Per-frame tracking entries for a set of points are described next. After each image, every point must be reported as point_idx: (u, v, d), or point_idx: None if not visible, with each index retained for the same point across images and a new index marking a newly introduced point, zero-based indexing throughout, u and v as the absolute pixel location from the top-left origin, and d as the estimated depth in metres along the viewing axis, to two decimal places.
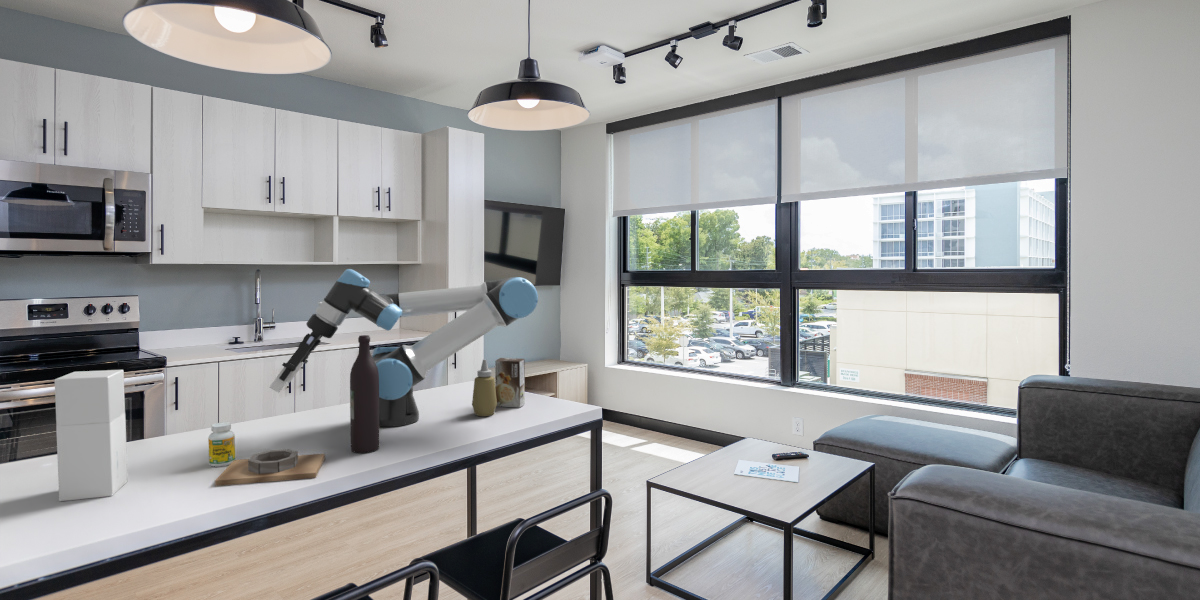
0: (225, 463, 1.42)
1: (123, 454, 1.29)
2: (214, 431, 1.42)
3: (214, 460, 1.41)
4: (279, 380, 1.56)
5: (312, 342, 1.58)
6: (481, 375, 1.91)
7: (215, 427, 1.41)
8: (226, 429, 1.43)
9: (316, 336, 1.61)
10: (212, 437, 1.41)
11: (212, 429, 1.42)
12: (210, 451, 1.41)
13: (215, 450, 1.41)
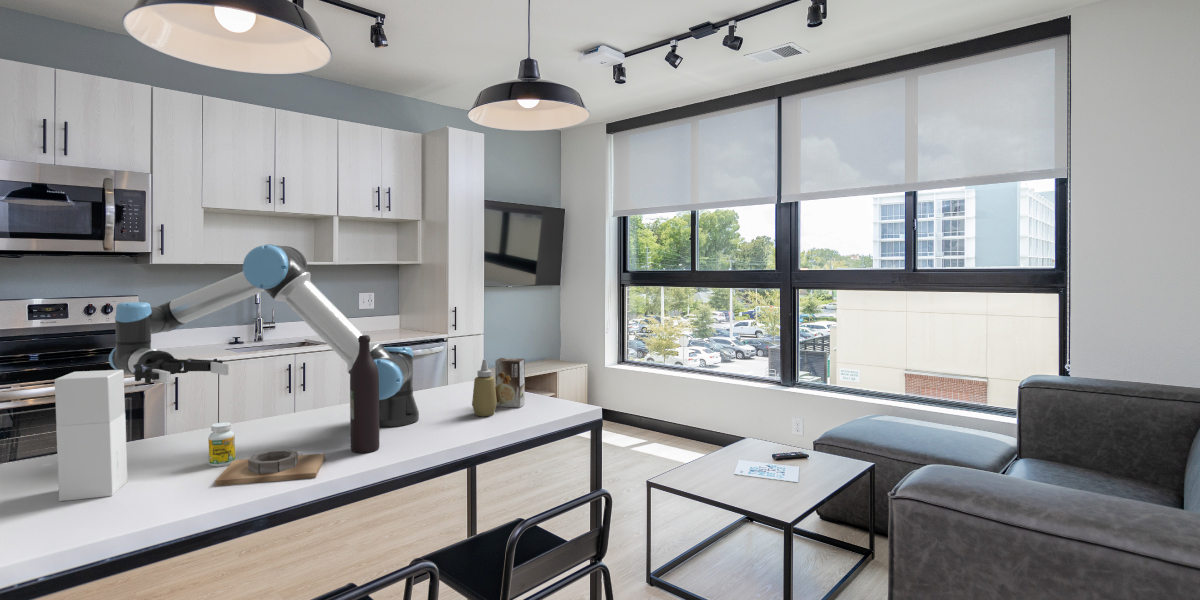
0: (225, 463, 1.42)
1: (123, 454, 1.29)
2: (214, 431, 1.42)
3: (214, 460, 1.41)
4: (160, 377, 1.42)
5: (134, 367, 1.48)
6: (481, 375, 1.91)
7: (215, 427, 1.41)
8: (226, 429, 1.43)
9: (145, 365, 1.52)
10: (212, 437, 1.41)
11: (212, 429, 1.42)
12: (210, 451, 1.41)
13: (215, 450, 1.41)
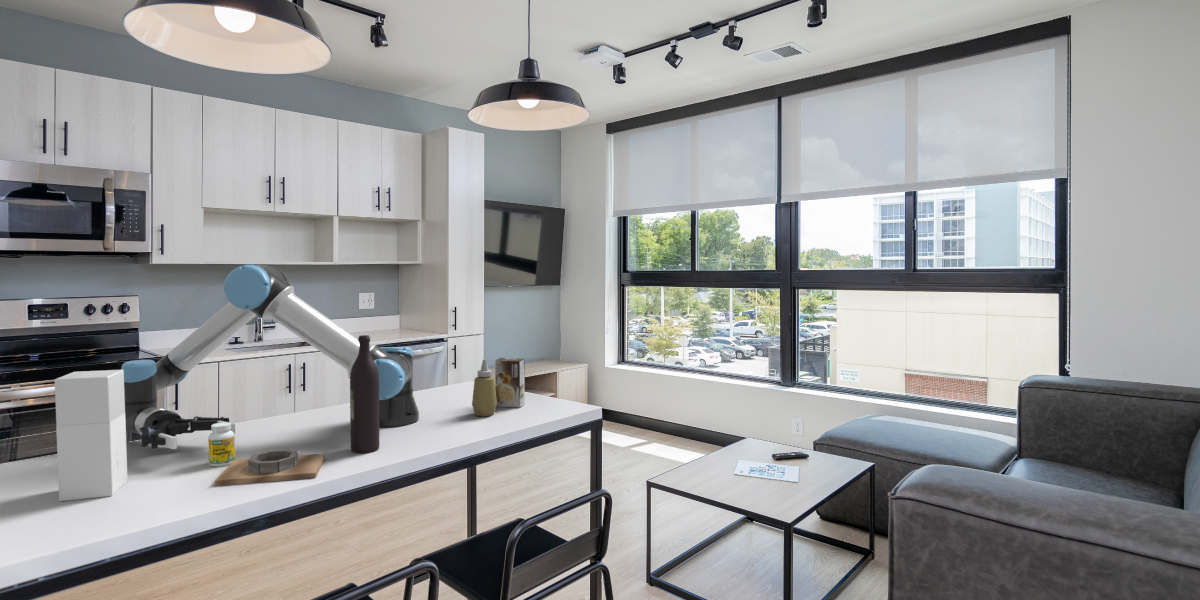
0: (225, 463, 1.42)
1: (123, 454, 1.29)
2: (214, 431, 1.42)
3: (214, 460, 1.41)
4: (166, 443, 1.41)
5: (141, 430, 1.47)
6: (481, 375, 1.91)
7: (215, 427, 1.41)
8: (226, 429, 1.43)
9: (152, 427, 1.51)
10: (212, 437, 1.41)
11: (212, 429, 1.42)
12: (210, 451, 1.41)
13: (215, 450, 1.41)
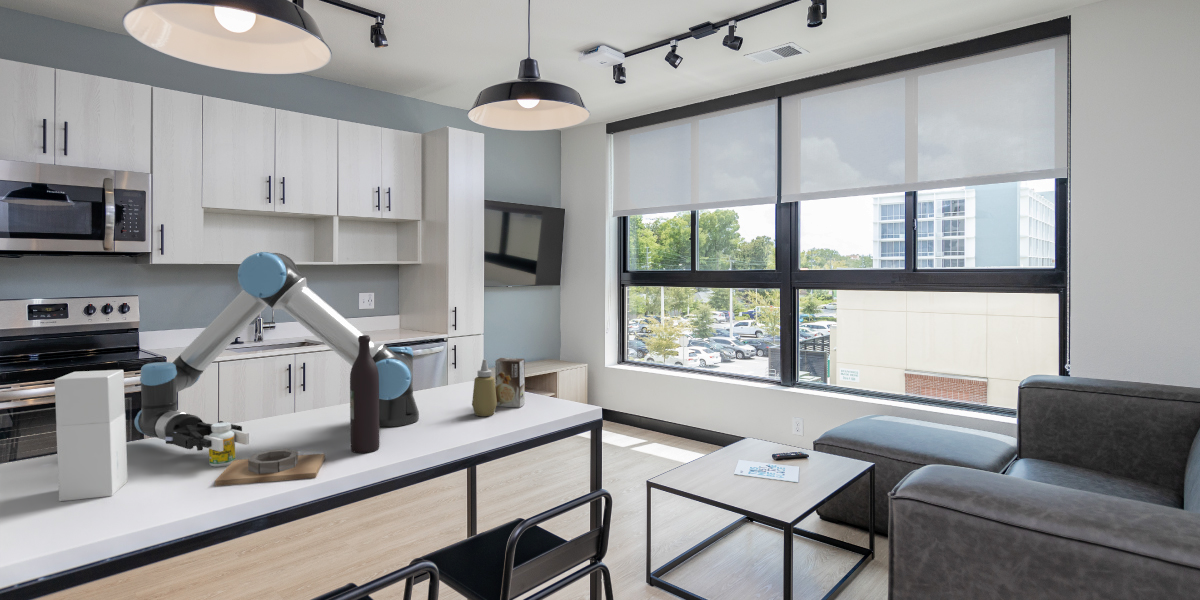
0: (225, 463, 1.42)
1: (123, 454, 1.29)
2: (214, 431, 1.42)
3: (214, 460, 1.41)
4: (212, 445, 1.40)
5: (168, 435, 1.43)
6: (481, 375, 1.91)
7: (215, 427, 1.41)
8: (226, 429, 1.43)
9: (173, 432, 1.46)
10: (212, 436, 1.41)
11: (212, 429, 1.42)
12: (210, 451, 1.41)
13: (215, 450, 1.41)
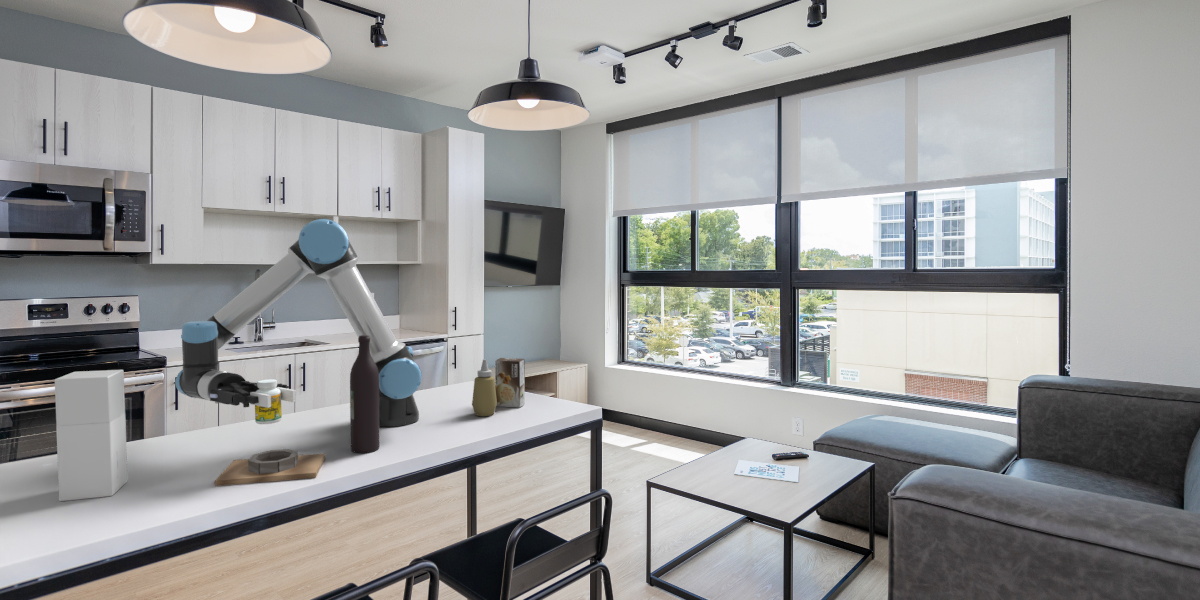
0: (272, 421, 1.37)
1: (123, 454, 1.29)
2: (260, 387, 1.36)
3: (260, 417, 1.36)
4: (260, 401, 1.34)
5: (213, 392, 1.38)
6: (481, 375, 1.91)
7: (262, 383, 1.36)
8: (273, 386, 1.37)
9: (217, 390, 1.41)
10: None
11: (258, 386, 1.36)
12: (256, 408, 1.36)
13: (262, 407, 1.36)
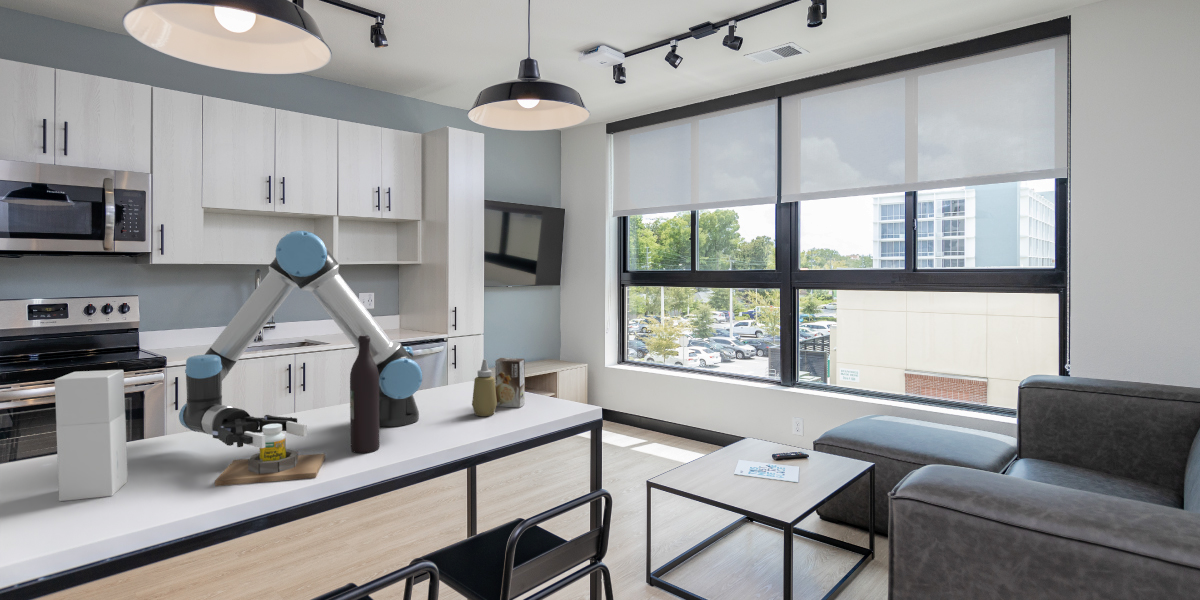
0: None
1: (123, 454, 1.29)
2: (265, 433, 1.37)
3: None
4: (254, 441, 1.33)
5: (214, 429, 1.38)
6: (481, 375, 1.91)
7: (267, 429, 1.36)
8: (278, 431, 1.38)
9: (222, 426, 1.41)
10: None
11: (263, 431, 1.37)
12: (261, 453, 1.37)
13: (267, 453, 1.36)
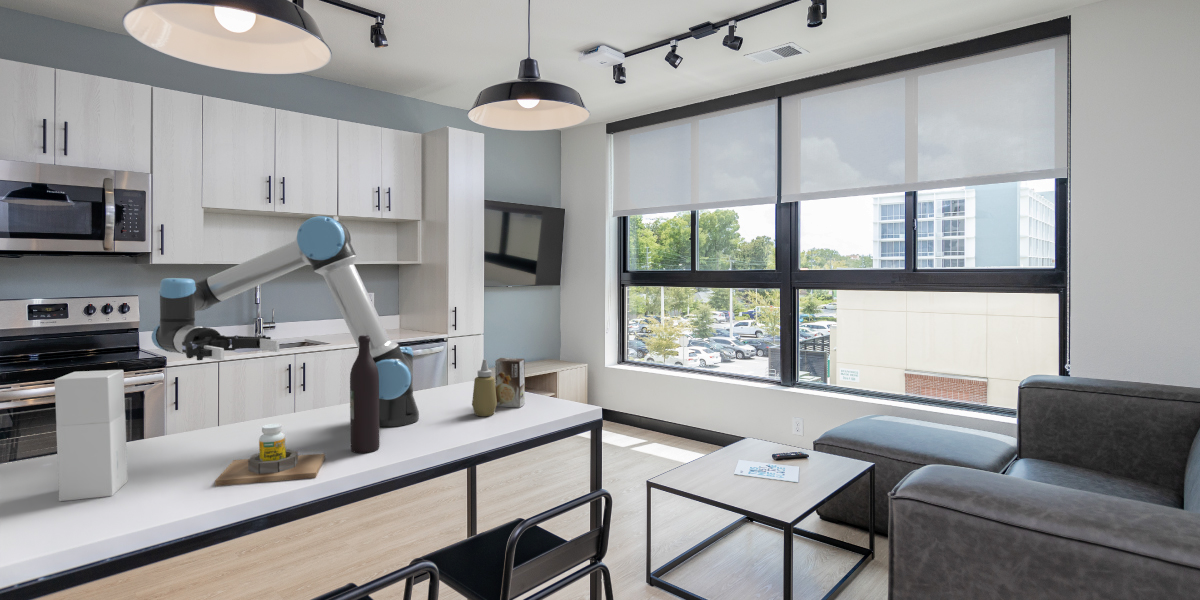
0: None
1: (123, 454, 1.29)
2: (265, 433, 1.37)
3: None
4: (213, 354, 1.37)
5: (183, 344, 1.43)
6: (481, 375, 1.91)
7: (266, 428, 1.37)
8: (277, 430, 1.38)
9: (193, 343, 1.46)
10: (263, 438, 1.36)
11: (263, 431, 1.37)
12: (261, 453, 1.37)
13: (267, 453, 1.36)
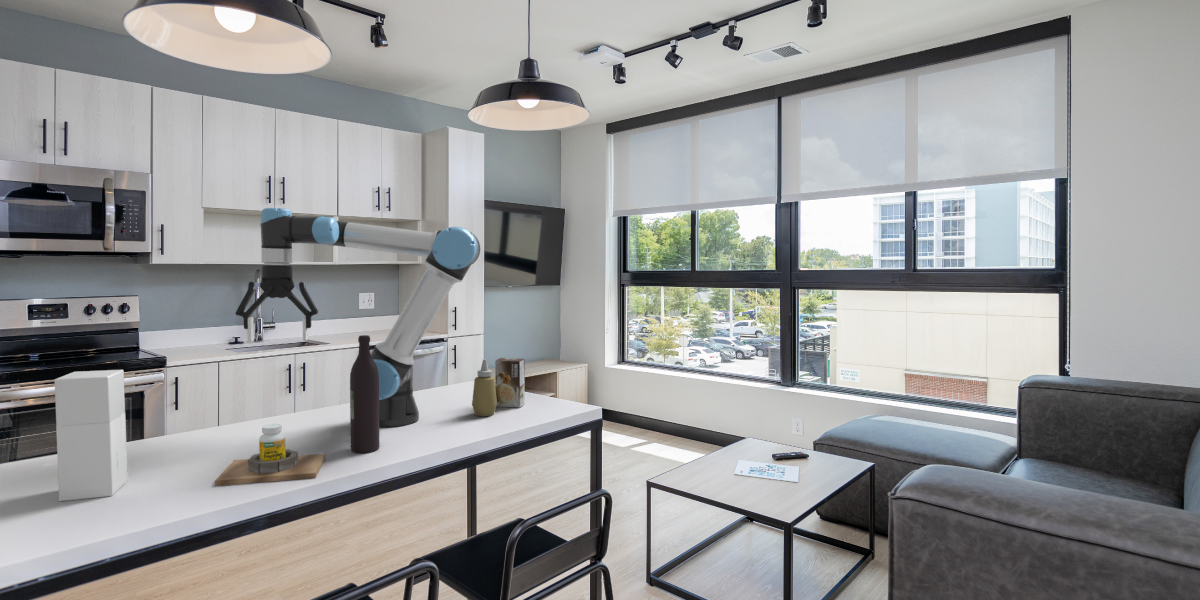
0: None
1: (123, 454, 1.29)
2: (265, 433, 1.37)
3: None
4: None
5: None
6: (481, 375, 1.91)
7: (266, 429, 1.36)
8: (277, 431, 1.38)
9: None
10: (263, 439, 1.36)
11: (263, 431, 1.37)
12: (261, 454, 1.36)
13: (267, 453, 1.36)
